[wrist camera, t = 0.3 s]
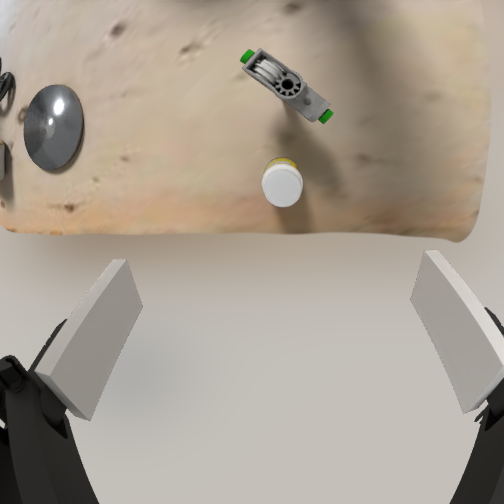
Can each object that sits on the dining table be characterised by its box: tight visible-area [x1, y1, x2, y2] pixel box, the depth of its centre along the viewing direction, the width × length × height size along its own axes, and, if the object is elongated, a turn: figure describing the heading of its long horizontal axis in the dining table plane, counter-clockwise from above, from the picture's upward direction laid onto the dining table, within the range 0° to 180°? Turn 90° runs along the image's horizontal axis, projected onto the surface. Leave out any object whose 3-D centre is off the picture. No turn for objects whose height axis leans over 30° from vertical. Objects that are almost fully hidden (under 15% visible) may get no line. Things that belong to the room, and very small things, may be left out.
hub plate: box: [24, 85, 83, 170], centre depth 34 cm, size 15×15×1 cm
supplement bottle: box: [262, 157, 303, 207], centre depth 33 cm, size 5×5×8 cm
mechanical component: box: [240, 48, 333, 124], centre depth 27 cm, size 3×10×10 cm, turn 52°
